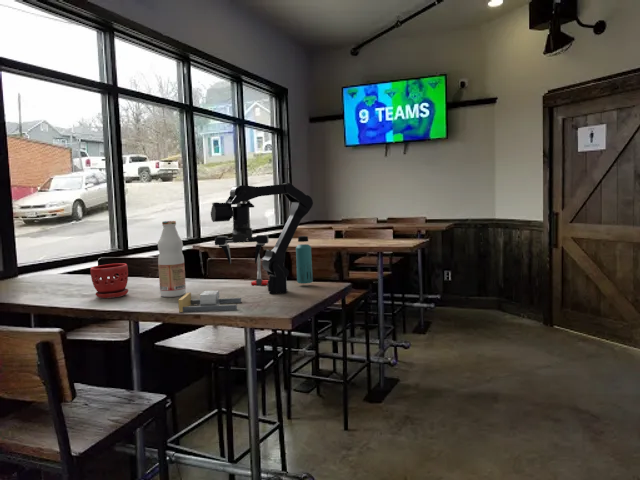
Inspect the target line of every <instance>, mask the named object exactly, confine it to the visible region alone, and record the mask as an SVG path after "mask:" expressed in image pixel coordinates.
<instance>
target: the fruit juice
mask: <svg viewBox="0 0 640 480" xmlns="http://www.w3.org/2000/svg"><path fill="white" fill-rule="evenodd" d="M161 224H162V227H163V228H162V231H161V234H160V238H159V239H158V242H157V249H158V252H159V254H158V257H157V260H158V261H157V265H158V279H159V282H158V283H159V294H160V296H161V297H163V298H173V297H182V296H184V295H185V294H186V293H187V288H186V286H187V285H186V270H185V268H186V267H185V256H184V254H183V247H184V244H183V243H184V242H183V239H182V238H181V237H180V235H179V234H178V231H177V228H176V226H177V222H176V220H165V221H162V223H161Z"/></svg>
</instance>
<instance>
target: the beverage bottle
mask: <svg viewBox="0 0 640 480" xmlns="http://www.w3.org/2000/svg"><path fill="white" fill-rule="evenodd" d="M297 242H299V243H302V244H297V245H296V247H295V257H296V264H295V265H296V267H295V271H296V282H297V284H303V285H304V284H311V283H313V281H314V279H313V278H314V277H313V258H312V257H313V256H312V246H311V245H310V244H307V242H309V236H307V235H300V236H298V237H297ZM305 242H306V244H303V243H305Z"/></svg>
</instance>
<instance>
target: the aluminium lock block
mask: <svg viewBox="0 0 640 480" xmlns="http://www.w3.org/2000/svg"><path fill="white" fill-rule="evenodd" d="M199 299H200V304H199V306H213V305H220V301H219V299H220V290H204V291H202V292H201V293H200V294H199Z"/></svg>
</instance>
